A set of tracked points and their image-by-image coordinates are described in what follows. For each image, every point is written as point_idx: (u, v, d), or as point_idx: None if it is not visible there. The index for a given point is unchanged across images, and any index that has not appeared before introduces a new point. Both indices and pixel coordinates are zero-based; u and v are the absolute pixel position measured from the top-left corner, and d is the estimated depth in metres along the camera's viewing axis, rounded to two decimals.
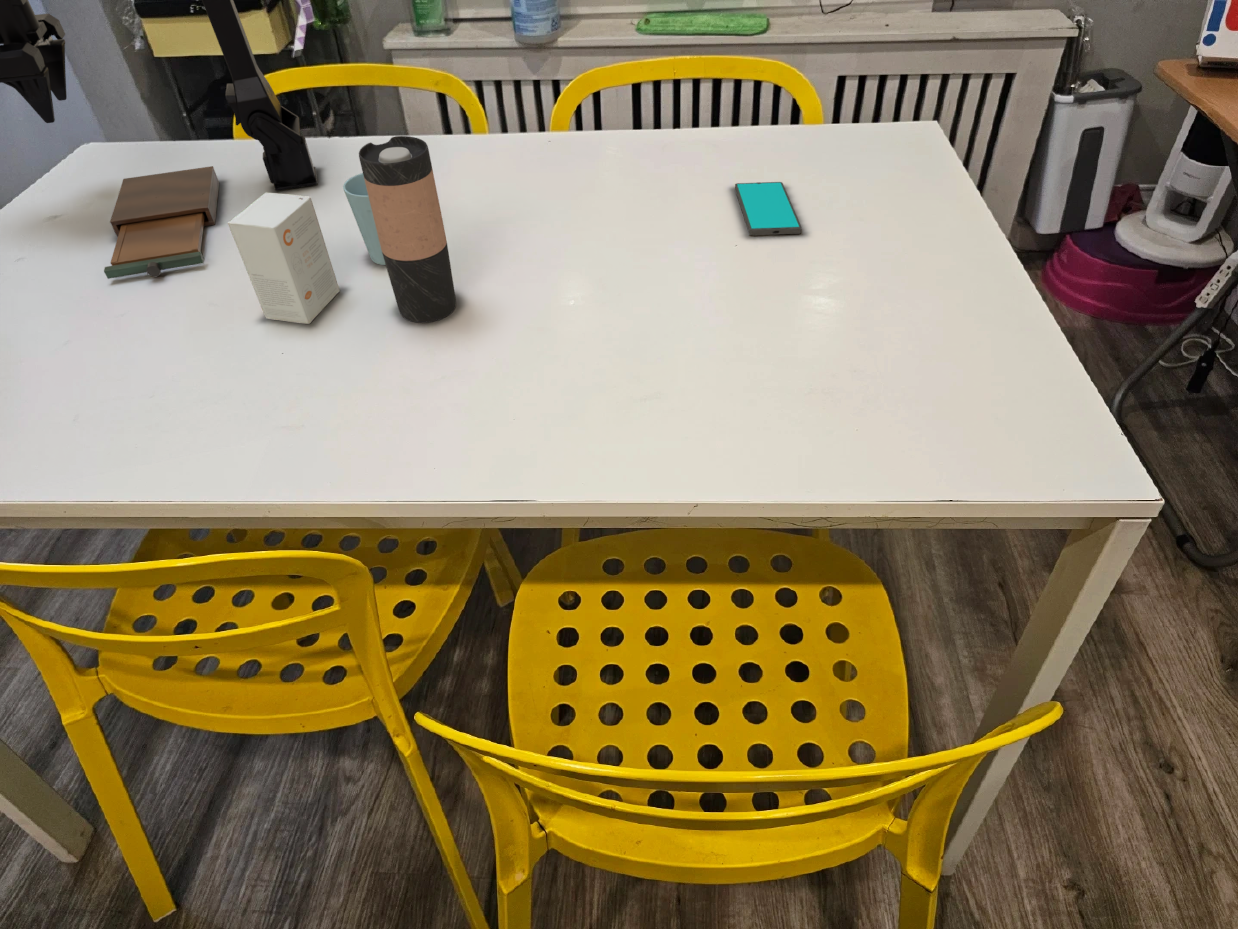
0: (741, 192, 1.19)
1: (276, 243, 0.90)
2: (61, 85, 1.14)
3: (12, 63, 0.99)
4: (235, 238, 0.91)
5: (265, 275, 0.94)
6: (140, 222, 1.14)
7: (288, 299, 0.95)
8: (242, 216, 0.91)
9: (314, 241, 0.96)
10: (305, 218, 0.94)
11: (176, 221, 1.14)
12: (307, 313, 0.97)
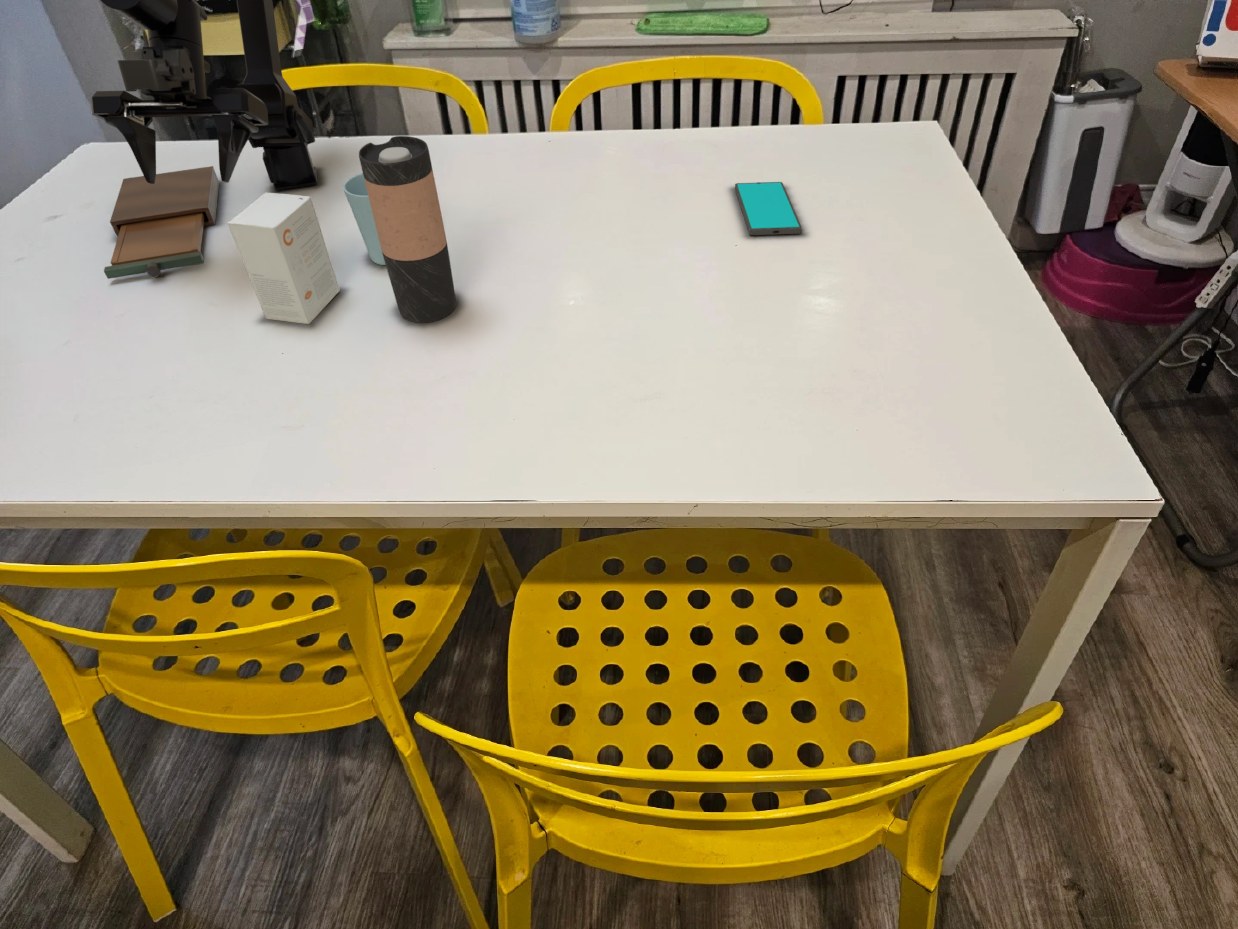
0: (741, 192, 1.19)
1: (276, 243, 0.90)
2: (152, 168, 0.97)
3: (260, 106, 0.96)
4: (235, 238, 0.91)
5: (265, 275, 0.94)
6: (140, 222, 1.14)
7: (288, 299, 0.95)
8: (242, 216, 0.91)
9: (314, 241, 0.96)
10: (305, 218, 0.94)
11: (176, 221, 1.14)
12: (307, 313, 0.97)
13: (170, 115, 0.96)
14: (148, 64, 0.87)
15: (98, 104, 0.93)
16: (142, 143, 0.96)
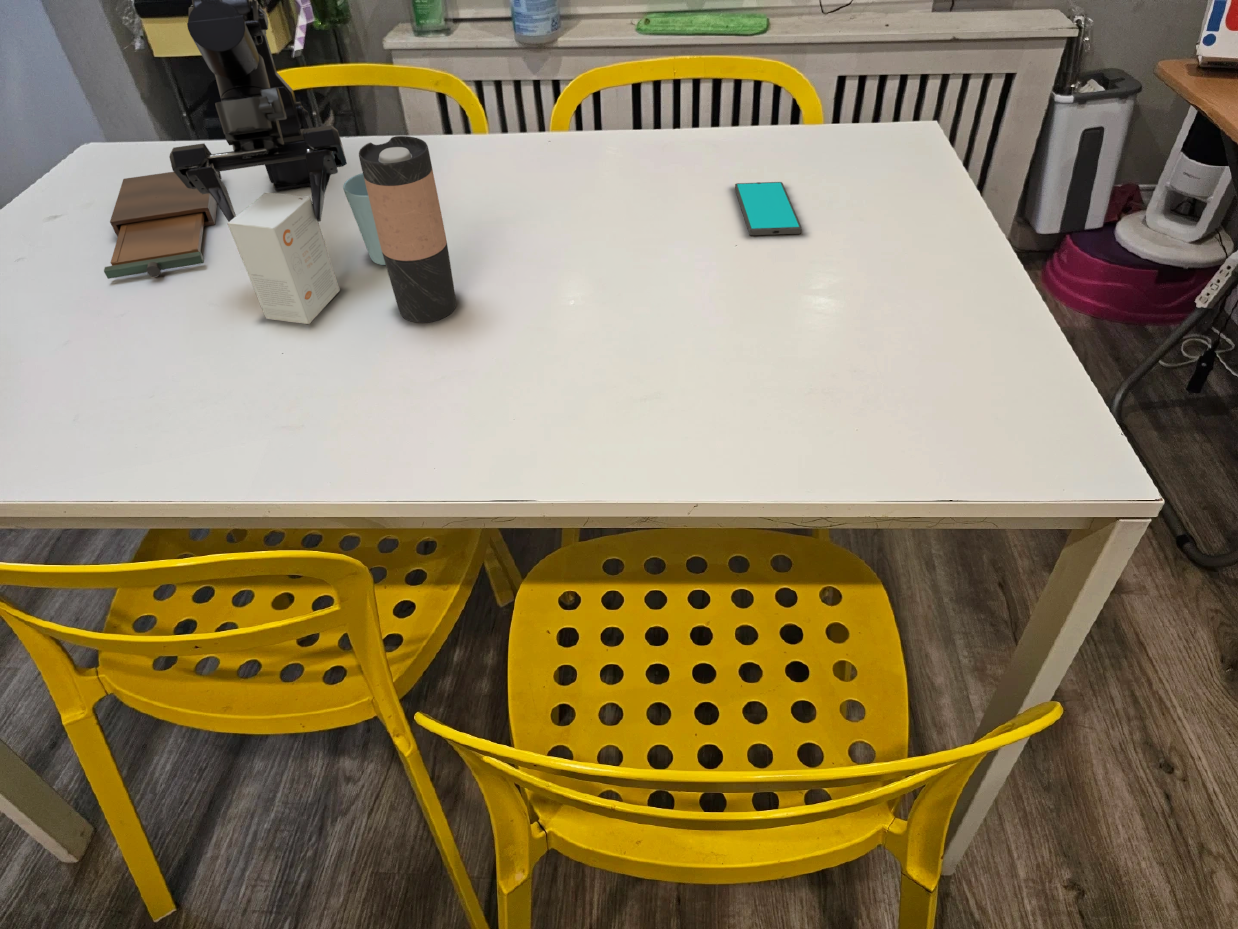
0: (741, 192, 1.19)
1: (276, 243, 0.90)
2: None
3: None
4: (235, 238, 0.91)
5: (265, 275, 0.94)
6: (140, 222, 1.14)
7: (288, 299, 0.95)
8: (242, 216, 0.91)
9: (314, 241, 0.96)
10: (305, 219, 0.93)
11: (176, 221, 1.14)
12: (307, 313, 0.97)
13: (250, 164, 0.94)
14: (250, 102, 0.86)
15: (180, 158, 0.89)
16: (225, 195, 0.92)
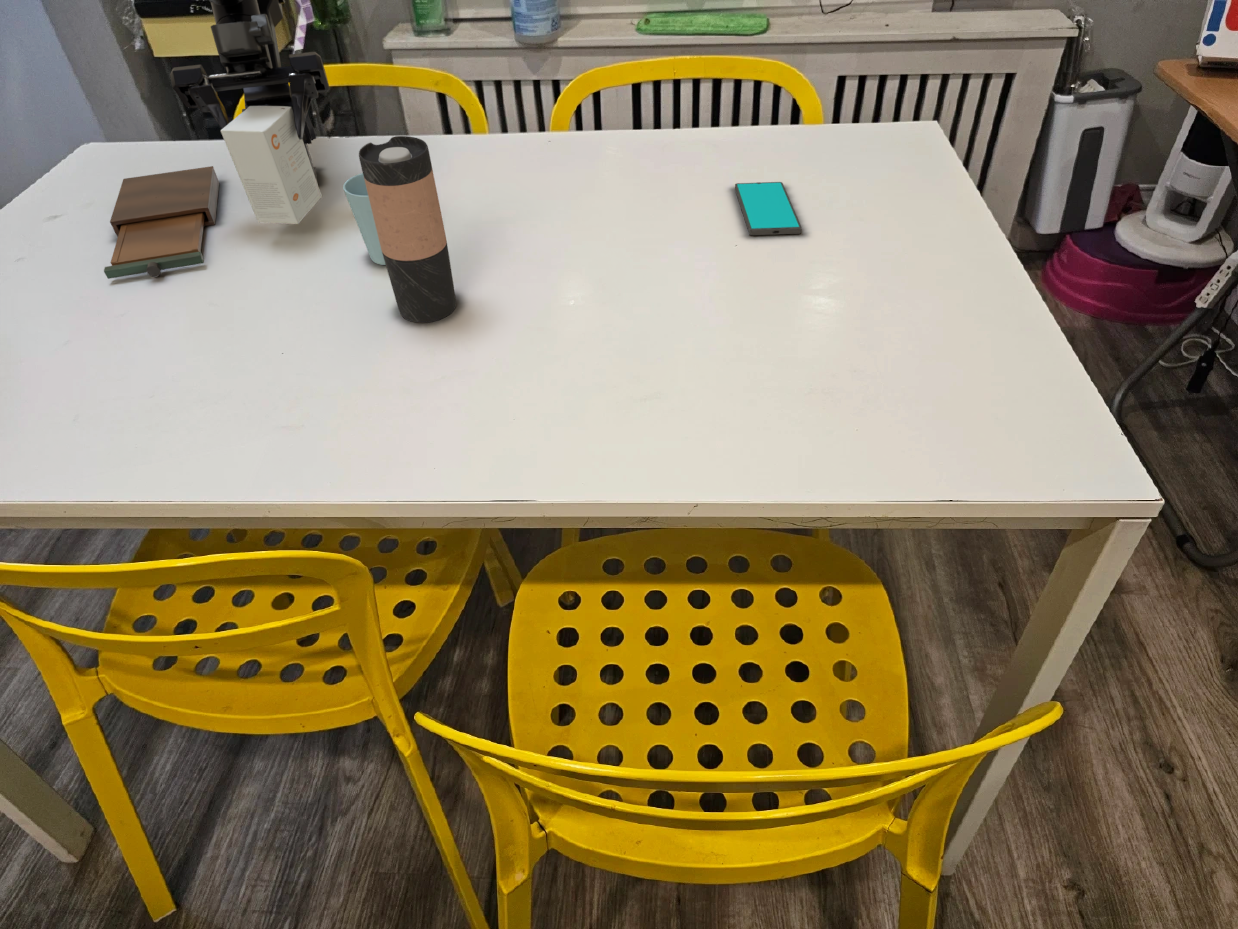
0: (741, 192, 1.19)
1: (265, 146, 1.02)
2: None
3: None
4: (228, 145, 1.02)
5: (257, 179, 1.05)
6: (140, 222, 1.14)
7: (278, 201, 1.07)
8: (232, 124, 1.02)
9: (297, 147, 1.07)
10: (288, 126, 1.05)
11: (176, 221, 1.14)
12: (296, 213, 1.08)
13: (242, 86, 1.05)
14: (242, 25, 0.97)
15: (179, 76, 1.00)
16: (223, 111, 1.04)
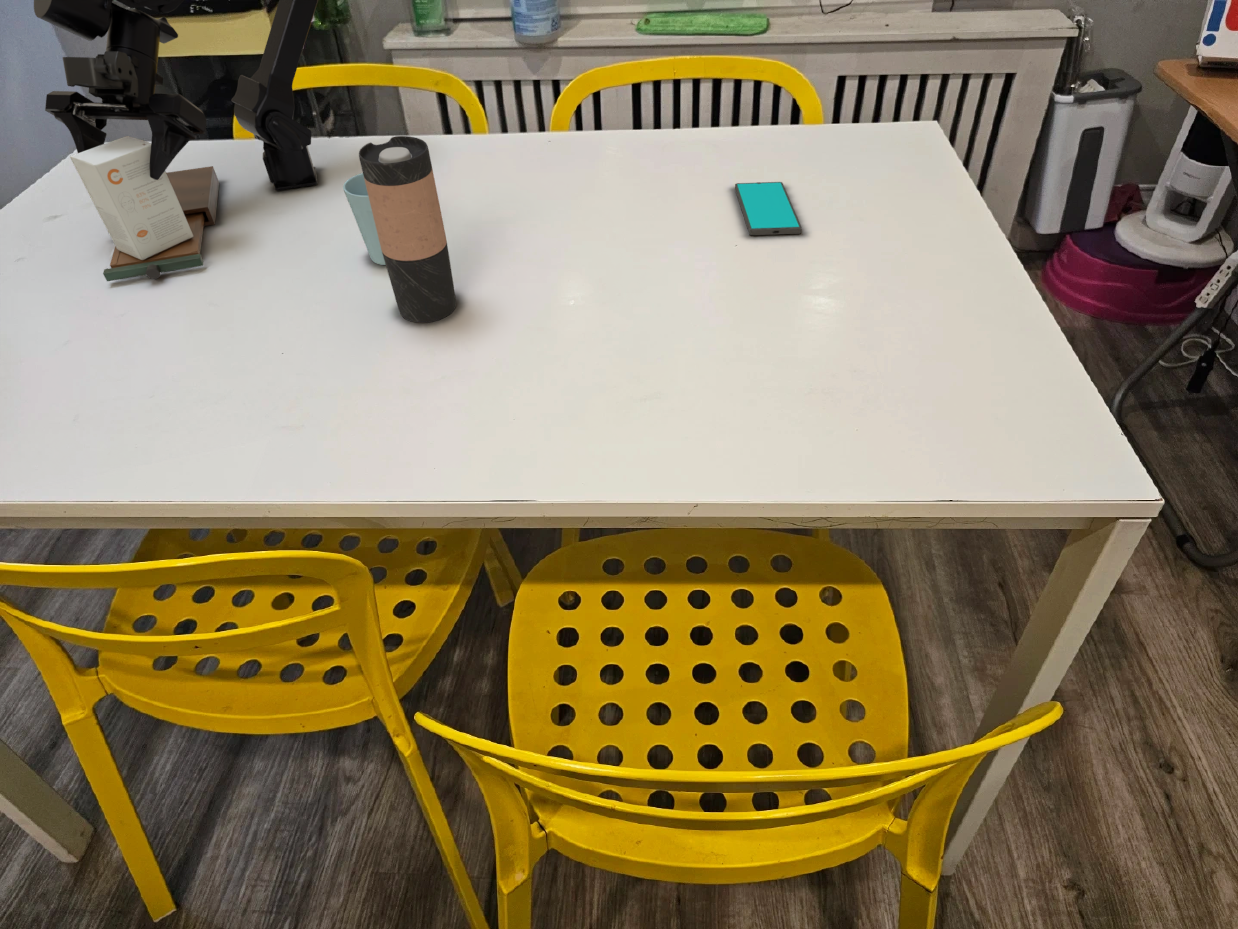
0: (741, 192, 1.19)
1: (100, 180, 0.99)
2: None
3: (197, 114, 1.02)
4: (77, 171, 1.01)
5: (104, 209, 1.03)
6: None
7: (123, 234, 1.04)
8: (85, 152, 1.00)
9: (155, 185, 1.04)
10: (143, 163, 1.01)
11: None
12: (139, 250, 1.05)
13: (116, 117, 1.03)
14: (87, 61, 0.94)
15: (50, 101, 1.01)
16: (85, 140, 1.03)
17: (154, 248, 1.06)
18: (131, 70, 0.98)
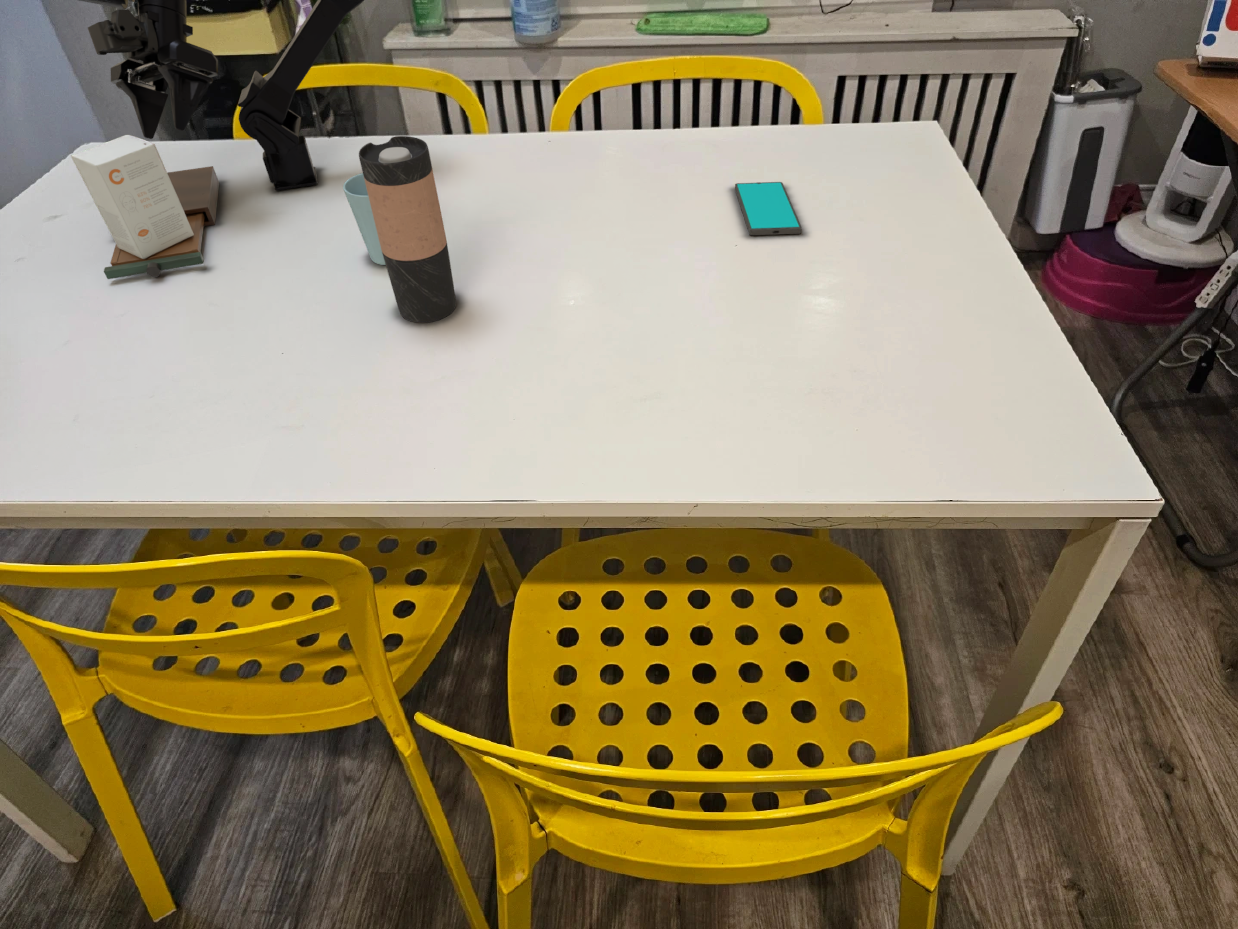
0: (741, 192, 1.19)
1: (101, 180, 0.99)
2: (153, 125, 1.12)
3: (201, 56, 1.03)
4: (78, 170, 1.01)
5: (105, 208, 1.03)
6: None
7: (124, 233, 1.04)
8: (86, 151, 1.00)
9: (156, 184, 1.04)
10: (144, 162, 1.02)
11: None
12: (140, 249, 1.05)
13: (157, 76, 1.09)
14: (98, 26, 1.01)
15: (112, 73, 1.11)
16: (142, 104, 1.11)
17: (155, 247, 1.07)
18: (138, 25, 1.02)
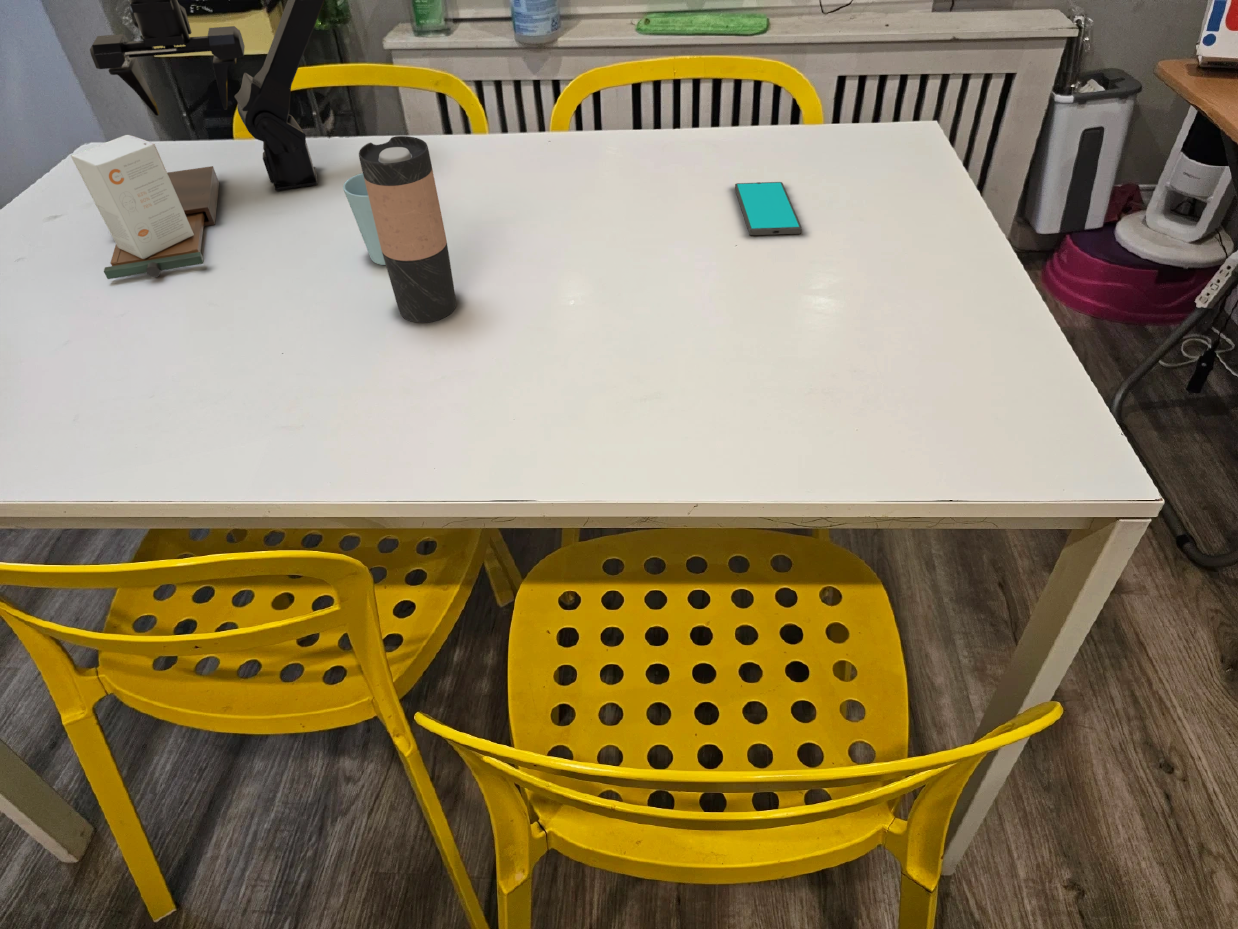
0: (741, 192, 1.19)
1: (101, 180, 0.99)
2: None
3: None
4: (78, 170, 1.01)
5: (105, 208, 1.03)
6: None
7: (124, 233, 1.04)
8: (86, 151, 1.00)
9: (156, 184, 1.04)
10: (144, 162, 1.02)
11: None
12: (140, 249, 1.05)
13: None
14: None
15: None
16: None
17: (155, 247, 1.07)
18: None
